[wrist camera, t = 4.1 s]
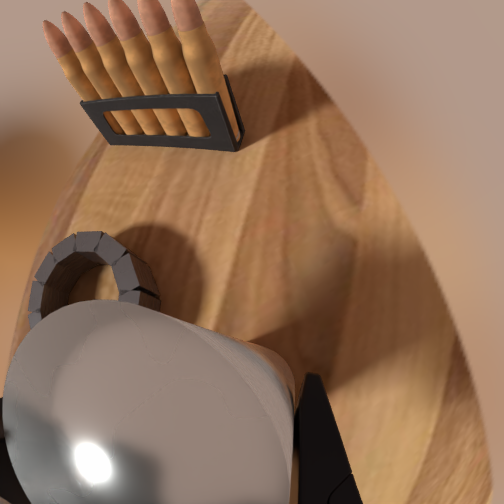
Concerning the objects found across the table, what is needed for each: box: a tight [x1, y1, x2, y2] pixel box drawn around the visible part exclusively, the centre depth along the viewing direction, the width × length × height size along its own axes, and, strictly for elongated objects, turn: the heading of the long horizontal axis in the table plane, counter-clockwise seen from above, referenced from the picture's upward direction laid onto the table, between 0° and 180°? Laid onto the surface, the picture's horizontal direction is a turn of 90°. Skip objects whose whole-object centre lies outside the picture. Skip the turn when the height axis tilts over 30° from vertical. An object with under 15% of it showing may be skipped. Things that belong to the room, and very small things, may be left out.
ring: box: [28, 231, 161, 329], centre depth 16 cm, size 8×8×2 cm
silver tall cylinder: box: [3, 300, 295, 504], centre depth 9 cm, size 4×4×12 cm
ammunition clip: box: [43, 0, 245, 152], centre depth 15 cm, size 11×2×12 cm, turn 76°
